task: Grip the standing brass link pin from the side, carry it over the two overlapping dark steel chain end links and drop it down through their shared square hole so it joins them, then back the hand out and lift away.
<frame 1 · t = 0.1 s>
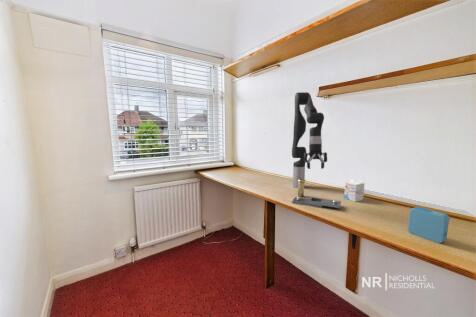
hand: (315, 168, 133), 22 cm above the table, tool pointing down, fingers open, 8 cm apart
chain ends: (316, 204, 131), on the table
ink box: (353, 199, 140), on the table
link pin: (300, 196, 147), on the table
data package: (425, 237, 91), on the table
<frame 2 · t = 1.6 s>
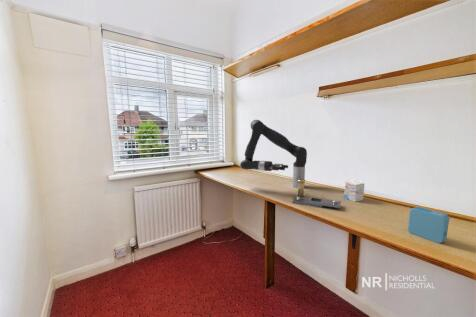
hand: (286, 167, 150), 20 cm above the table, tool horizontal, fingers open, 8 cm apart
nothing on the table moved.
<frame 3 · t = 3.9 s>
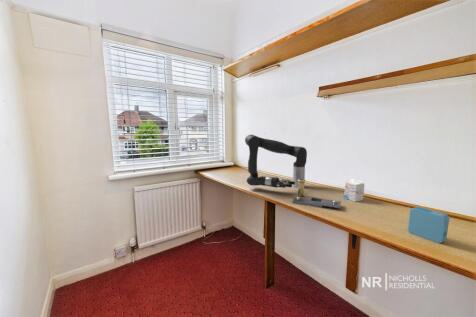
hand: (293, 184, 149), 8 cm above the table, tool horizontal, fingers open, 8 cm apart
nothing on the table moved.
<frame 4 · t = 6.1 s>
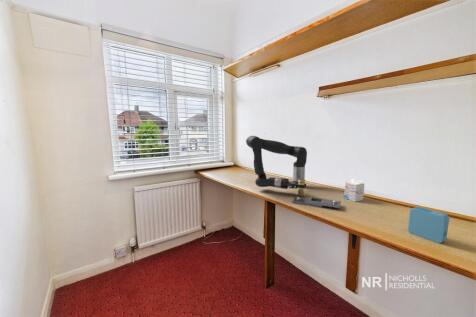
hand: (305, 186, 145), 8 cm above the table, tool horizontal, fingers closed on link pin, 4 cm apart
link pin: (300, 196, 147), on the table, touching gripper
everything else where it was.
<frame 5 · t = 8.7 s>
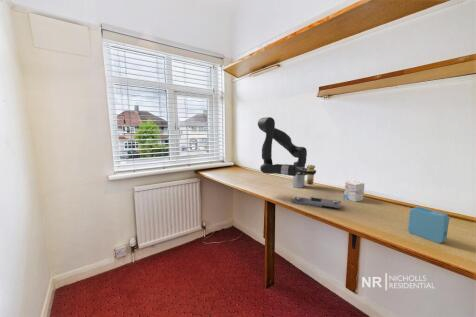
hand: (315, 172, 133), 20 cm above the table, tool horizontal, fingers closed on link pin, 4 cm apart
link pin: (310, 183, 135), point 12 cm above the table, touching gripper
everything else where it was.
when the fingers open (8 cm above the table, at t = 11.8 s): link pin stays where it is, resting in chain ends.
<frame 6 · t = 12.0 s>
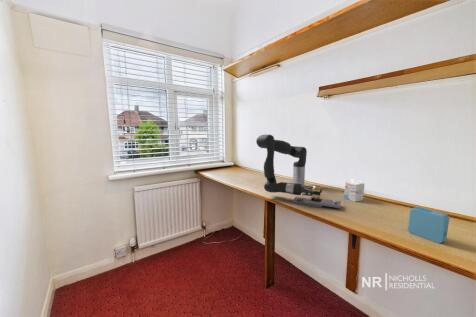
hand: (320, 192, 129), 8 cm above the table, tool horizontal, fingers open, 5 cm apart
link pin: (315, 204, 131), resting in chain ends
everything else where it was.
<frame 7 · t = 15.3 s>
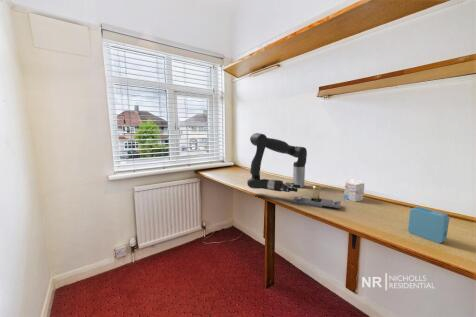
hand: (298, 188, 135), 9 cm above the table, tool horizontal, fingers open, 8 cm apart
nothing on the table moved.
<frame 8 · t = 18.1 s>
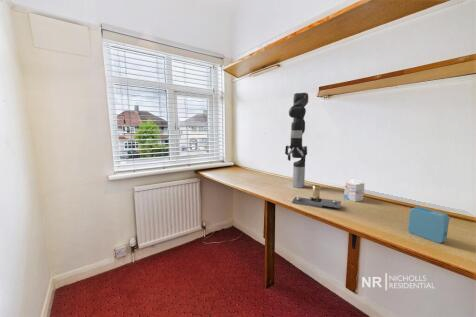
hand: (295, 161, 140), 26 cm above the table, tool pointing down, fingers open, 8 cm apart
nothing on the table moved.
at the end: link pin 0.1 cm off-centre on the chain ends, point 0.0 cm above the chain ends's base; link pin tilted 0°; the gripper is holding nothing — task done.
